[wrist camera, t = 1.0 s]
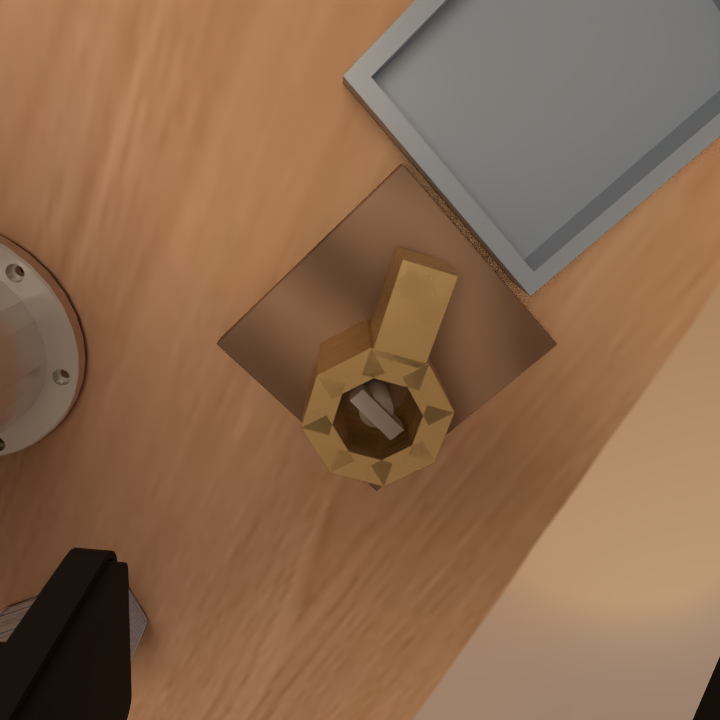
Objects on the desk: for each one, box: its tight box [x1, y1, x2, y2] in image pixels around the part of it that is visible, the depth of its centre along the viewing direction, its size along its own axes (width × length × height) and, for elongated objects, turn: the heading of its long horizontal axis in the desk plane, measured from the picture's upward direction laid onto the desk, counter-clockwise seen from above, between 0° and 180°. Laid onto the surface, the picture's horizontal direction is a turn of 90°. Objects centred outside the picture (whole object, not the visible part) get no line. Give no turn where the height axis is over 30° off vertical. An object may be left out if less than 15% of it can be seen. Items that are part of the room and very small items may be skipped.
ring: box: [301, 246, 458, 486], centre depth 28 cm, size 10×6×4 cm, turn 163°
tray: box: [343, 0, 720, 296], centre depth 25 cm, size 15×13×3 cm
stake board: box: [217, 164, 557, 491], centre depth 28 cm, size 13×12×5 cm
